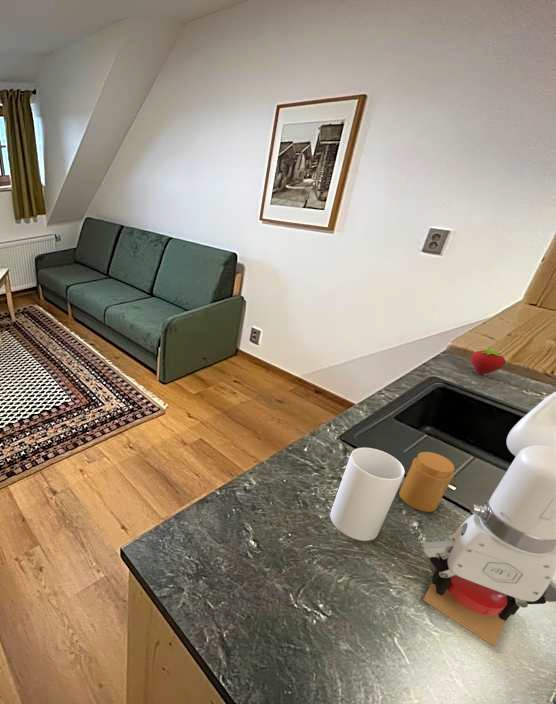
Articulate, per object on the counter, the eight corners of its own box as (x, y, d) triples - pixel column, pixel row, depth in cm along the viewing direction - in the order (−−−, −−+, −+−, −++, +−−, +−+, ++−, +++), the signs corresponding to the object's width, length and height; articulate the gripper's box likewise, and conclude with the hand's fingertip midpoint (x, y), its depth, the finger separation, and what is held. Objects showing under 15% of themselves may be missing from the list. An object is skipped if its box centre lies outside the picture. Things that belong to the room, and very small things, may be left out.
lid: (447, 600, 63) (451, 593, 62) (441, 564, 68) (445, 557, 67) (507, 625, 60) (513, 618, 59) (496, 584, 65) (502, 577, 64)
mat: (509, 607, 65) (510, 606, 64) (495, 647, 60) (496, 645, 60) (439, 567, 71) (440, 565, 71) (422, 600, 66) (423, 598, 66)
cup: (331, 500, 85) (350, 442, 77) (377, 515, 81) (403, 456, 73) (328, 529, 79) (350, 469, 71) (379, 547, 75) (407, 486, 67)
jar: (441, 500, 83) (461, 462, 78) (431, 517, 80) (451, 478, 75) (405, 482, 88) (421, 445, 83) (394, 497, 84) (410, 460, 79)
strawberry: (495, 383, 119) (510, 353, 114) (462, 373, 124) (475, 345, 119) (498, 375, 122) (513, 346, 117) (466, 366, 127) (479, 338, 122)
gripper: (443, 519, 58) (403, 592, 66) (623, 577, 49) (551, 652, 58) (437, 484, 63) (401, 556, 72) (598, 531, 55) (535, 606, 63)
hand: (468, 598), depth 65 cm, fingers closed on lid, 7 cm apart
